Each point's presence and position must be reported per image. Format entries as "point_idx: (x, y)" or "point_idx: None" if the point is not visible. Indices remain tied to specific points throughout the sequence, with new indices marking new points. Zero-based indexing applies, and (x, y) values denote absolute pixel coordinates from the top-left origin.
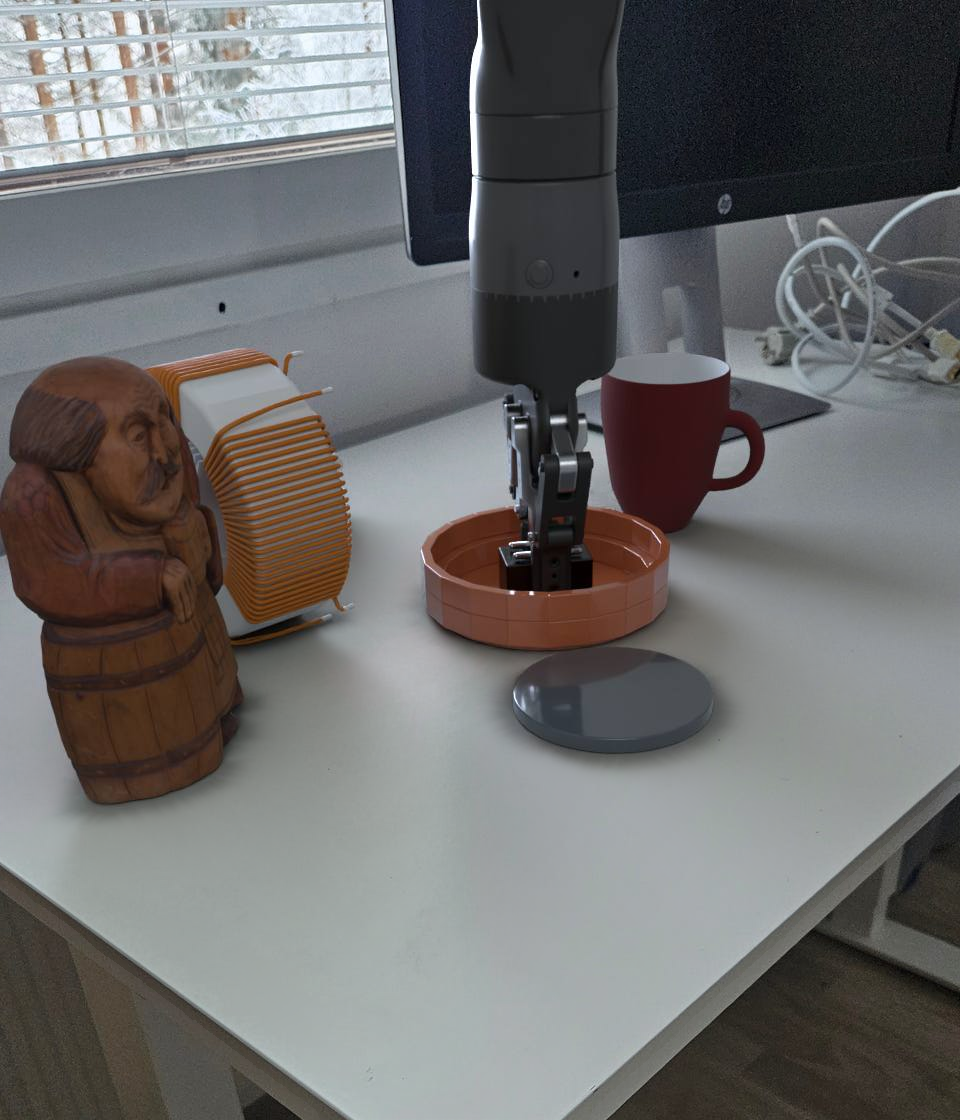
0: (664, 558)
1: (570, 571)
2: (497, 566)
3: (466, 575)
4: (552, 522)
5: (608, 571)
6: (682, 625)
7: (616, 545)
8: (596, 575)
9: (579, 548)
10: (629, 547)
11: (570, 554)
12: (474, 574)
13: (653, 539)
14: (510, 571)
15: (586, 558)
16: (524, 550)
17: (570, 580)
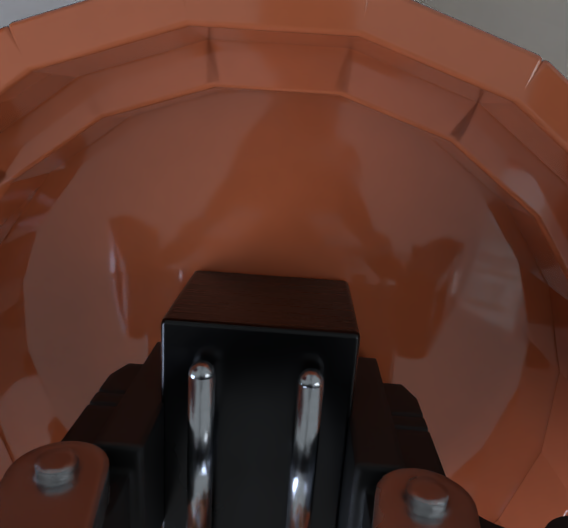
0: (549, 82)
1: (386, 408)
2: None
3: None
4: (129, 469)
5: (130, 165)
6: (546, 42)
7: (73, 136)
8: (157, 212)
9: (315, 386)
10: (117, 98)
11: (398, 447)
12: None
13: (241, 32)
14: None
15: (354, 358)
16: (216, 525)
17: (382, 391)
